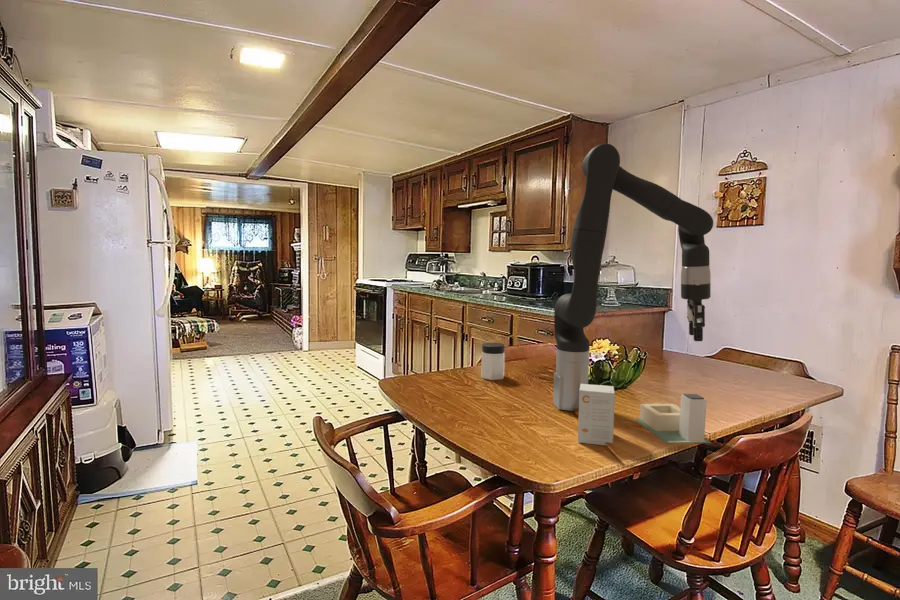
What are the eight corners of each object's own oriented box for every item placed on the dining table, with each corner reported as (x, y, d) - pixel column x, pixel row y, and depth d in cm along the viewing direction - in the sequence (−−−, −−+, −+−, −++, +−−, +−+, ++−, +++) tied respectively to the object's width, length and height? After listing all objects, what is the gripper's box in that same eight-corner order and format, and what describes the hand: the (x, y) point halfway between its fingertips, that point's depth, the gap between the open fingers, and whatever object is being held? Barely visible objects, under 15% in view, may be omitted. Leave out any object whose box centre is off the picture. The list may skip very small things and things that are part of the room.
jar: (509, 377, 175) (510, 344, 173) (496, 381, 169) (496, 347, 167) (489, 372, 181) (490, 341, 179) (476, 377, 174) (476, 344, 173)
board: (666, 447, 113) (666, 443, 112) (634, 422, 129) (634, 418, 129) (711, 447, 113) (711, 442, 113) (673, 421, 130) (673, 417, 130)
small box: (612, 437, 119) (614, 385, 118) (613, 447, 113) (615, 393, 111) (578, 433, 121) (580, 382, 120) (577, 443, 115) (579, 389, 114)
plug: (687, 440, 114) (690, 398, 113) (677, 433, 119) (679, 392, 118) (704, 440, 115) (706, 398, 113) (693, 433, 119) (695, 392, 118)
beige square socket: (656, 430, 120) (656, 415, 120) (638, 417, 130) (639, 403, 130) (690, 430, 121) (691, 414, 121) (670, 417, 131) (671, 402, 130)
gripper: (677, 280, 145) (678, 333, 147) (684, 284, 131) (684, 343, 133) (705, 279, 142) (705, 333, 144) (715, 283, 129) (715, 343, 131)
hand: (695, 337), depth 139 cm, fingers open, 8 cm apart
